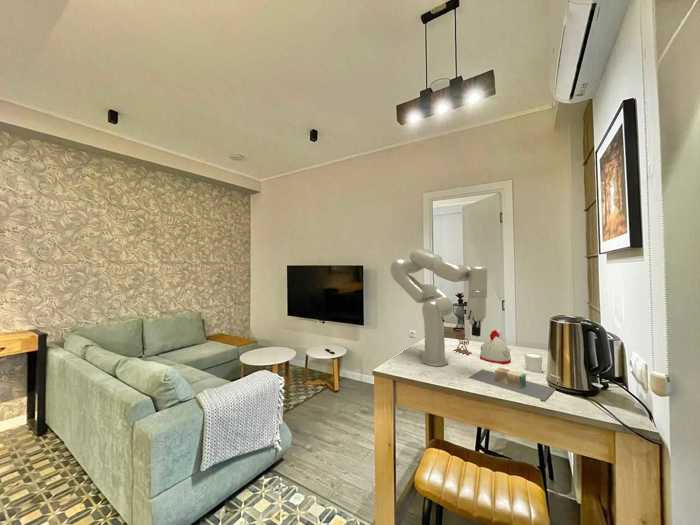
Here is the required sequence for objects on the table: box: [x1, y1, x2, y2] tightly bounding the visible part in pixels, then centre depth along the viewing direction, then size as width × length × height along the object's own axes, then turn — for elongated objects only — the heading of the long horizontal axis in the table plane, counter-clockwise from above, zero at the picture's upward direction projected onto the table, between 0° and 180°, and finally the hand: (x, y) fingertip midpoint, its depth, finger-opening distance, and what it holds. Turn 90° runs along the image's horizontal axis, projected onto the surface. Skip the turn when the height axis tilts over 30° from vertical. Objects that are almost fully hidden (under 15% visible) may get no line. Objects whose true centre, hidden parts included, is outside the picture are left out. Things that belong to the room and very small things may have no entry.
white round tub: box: [524, 352, 543, 374], centre depth 130 cm, size 7×7×7 cm
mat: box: [467, 369, 556, 402], centre depth 116 cm, size 28×14×1 cm, turn 41°
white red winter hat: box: [479, 329, 512, 366], centre depth 146 cm, size 14×14×15 cm
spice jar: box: [494, 366, 527, 388], centre depth 116 cm, size 4×4×10 cm
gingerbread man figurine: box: [453, 330, 473, 356], centre depth 158 cm, size 9×4×12 cm, turn 34°
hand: (475, 335), depth 127 cm, fingers closed
